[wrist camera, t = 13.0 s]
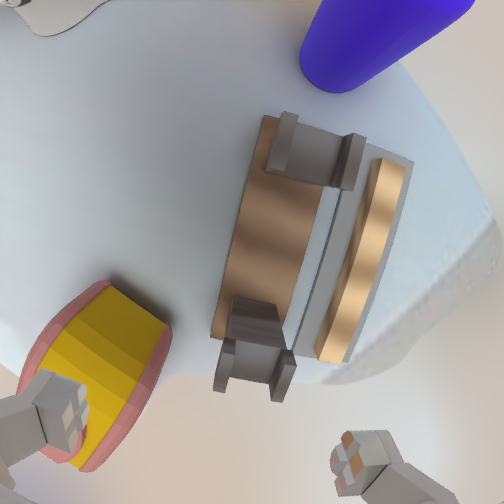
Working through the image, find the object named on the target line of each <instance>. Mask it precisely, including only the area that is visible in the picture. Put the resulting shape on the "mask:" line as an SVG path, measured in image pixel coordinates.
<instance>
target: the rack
mask: <svg viewBox="0 0 504 504" xmlns="http://www.w3.org/2000/svg"><path fill="white" fill-rule="evenodd" d="M297 119H298V115H296V114H293V113H289V112H286V111H284V112H283V113H282V115H281V117H280V119H279V118H275V117H271V116H267V115H264V118H263V122H262V125H261V129H260V133H259V137H258V141H257V145H256V148H255V152H254V156H253V160H252V164H251V168H250V172H249V176H248V180H247V184H246V188H245V192H244V196H243V200H242V204H241V208H240V212H239V216H238V220H237V224H236V228H235V232H234V236H233V240H232V244H231V248H230V253H229V257H228V261H227V265H226V269H225V274H224V278H223V282H222V286H221V291H220V295H219V299H218V304H217V308H216V312H215V317H214V321H213V325H212V330H211V335H210V338H215V339H219V340H223V344H222V348H221V352H220V356H219V360H218V364H217V368H216V372H215V378H214V385H213V391H217V392H221V393H225V390H226V386H227V383H228V379H229V377H232V378H237V379H243V380H248V381H254V382H259V383H266V384H269V388H270V397H271V401H274V402H281V403H282V402H283V400H284V397H285V395H286V392H287V390H288V387H289V385H290V382H291V380H292V377H293V375H294V372H295V370H296V367H297V365H296V362H295V358H294V354H293V351H292V350H287V347H286V343H285V339H284V335H283V331H282V326H283V323H284V320H285V317H286V314H287V311H288V307H289V304H290V301H291V298H292V295H293V291H294V288H295V285H296V282H297V278H298V275H299V272H300V268H301V265H302V261H303V258H304V255H305V251H306V248H307V244H308V241H309V237H310V234H311V230H312V227H313V223H314V220H315V216H316V212H317V209H318V205H319V201H320V198H321V194H322V190H323V186H326V187H333V188H338V189H341V190H346V191H352V192H353V191H354V187H355V183H356V179H357V175H358V171H359V167H360V163H361V159H362V155H363V151H364V146H365V142H366V137H364V136H361V135H358V134H355V133H352V134H349V135H346V136H344V137H342V136H339V135H336V134H333V133H330V132H327V131H324V130H321V129H317V128H314V127H311V126H307V125H304V124H301V123H297Z"/></svg>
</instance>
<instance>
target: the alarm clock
mask: <svg viewBox="0 0 504 504" xmlns="http://www.w3.org/2000/svg"><path fill="white" fill-rule="evenodd" d="M172 336H173V335H172V330H171V327H170V326H169V324H168V323H163V322H162V321H160V320H159V319H157V318H156V317H155V316H153V315H152V314H150V313H149V312H147V311H146V310H145V309H143V308H142V307H140V306H139V305H137V304H136V303H135V302H133V301H132V300H131V299H129V298H128V297H126V296H125V295H124V294H122V293H121V292H120V291H118V290H117V289H116V288H114V287H113V284H112V282H110V281H107V280H102V281H98V282H96V283H94V284H93V285H91V286H90V287H89V288H88V289H86V290H85V291H84V292H83V293H81V294H80V295H79V296H78V297H76V298H75V299H74V300H73V301H71V302H70V303H69V304H68V305H67V306H65V307H64V308H63V309H62V310H61V311H60V312H59V313H58V314H57V315H56V316H55V317H54V318H53V319H52V320H51V321H50V322H49V323H48V324H47V326H46V327H45V328H44V330H43V331H42V332H41V334H40V335H39V336H38V338H37V340H36V341H35V343H34V345H33V347H32V348H31V350H30V352H29V354H28V356H27V359H26V361H25V364H24V366H23V369H22V372H21V376H20V380H19V384H18V387H17V392H16V396H17V397H18V396H19V394H20V393H21V392H22V391H23V389H24V388H25V387H26V386H27V384H28V383H29V382H30V381H31V379H32V378H33V377H34V376H35V375H36V373H37V372H38V371H39V370H40V369H42V368H47V369H49V370H51V371H53V372H56V373H59V374H61V375H63V376H66V377H68V378H71V379H73V380H76V381H78V382H81V383H83V384H85V385H86V388H87V394H86V396H85V399H86V401H87V402H88V405H89V414H88V418H87V422H86V425H85V427H84V429H83V430H81V431H79V432H77V435H78V441H77V443H76V445H75V447H74V449H73V451H72V453H68V452H66V451H63V450H60V449H58V448H56V447H53V446H51V445H48V444H47V446H46V447H44V448H42V449H40V450H39V451H40V452H42V453H43V454H45V455H46V456H47V457H49V458H50V459H52V460H53V461H55V462H56V463H63V462H67V461H68V462H69V463H71V464H73V465H74V466H76V467H77V468H79V471H80V472H92V471H94V470H96V469H97V468H98V467H99V466H100V465H101V464H103V463H104V462H105V461H106V459H107V458H108V457H109V456H110V455H111V453H112V452H113V451H114V450H115V449H116V447H117V446H118V445H119V444H120V443H121V441H122V440H123V439H124V438H125V437H126V435H127V434H128V432H129V431H130V430H131V428H132V427H133V425H134V424H135V422H136V421H137V419H138V417H139V416H140V414H141V412H142V411H143V409H144V407H145V405H146V403H147V401H148V400H149V398H150V396H151V394H152V391H153V389H154V387H155V385H156V382H157V380H158V377H159V375H160V372H161V370H162V367H163V364H164V362H165V359H166V357H167V354H168V352H169V348H170V345H171V340H172Z"/></svg>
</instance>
